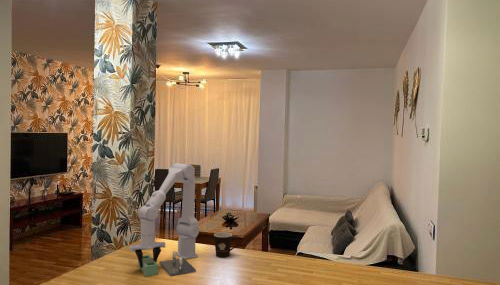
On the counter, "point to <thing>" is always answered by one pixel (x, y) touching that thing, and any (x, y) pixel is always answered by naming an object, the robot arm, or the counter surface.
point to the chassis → (177, 266)
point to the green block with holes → (149, 266)
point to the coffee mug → (223, 244)
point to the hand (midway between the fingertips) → (147, 266)
